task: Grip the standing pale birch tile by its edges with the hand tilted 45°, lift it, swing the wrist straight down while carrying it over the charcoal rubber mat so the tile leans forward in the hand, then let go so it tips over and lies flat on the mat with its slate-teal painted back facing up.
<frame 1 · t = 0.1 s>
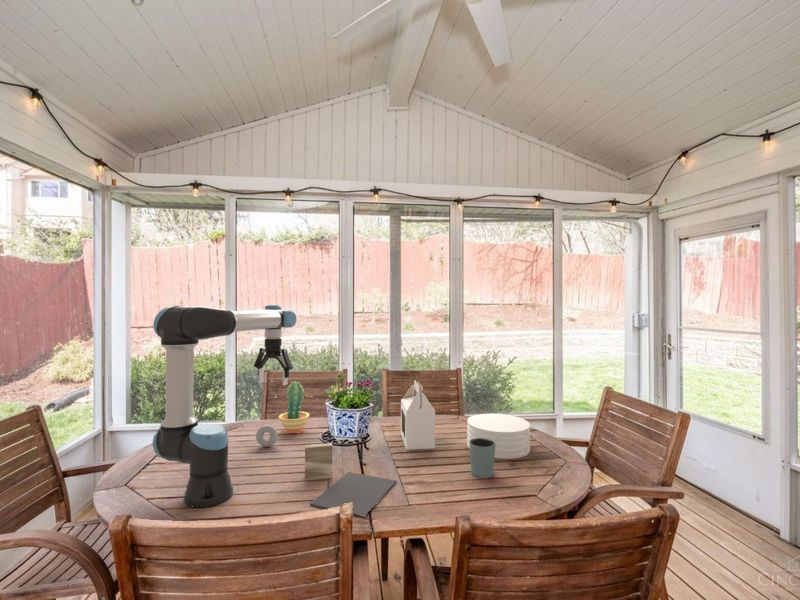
hand: (272, 383, 187), 28 cm above the table, tool pointing down, fingers open, 13 cm apart
donut: (267, 447, 183), on the table
birch tile: (318, 477, 152), on the table
potted cactus: (294, 431, 205), on the table
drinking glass: (482, 473, 156), on the table
plate stack: (498, 447, 184), on the table
rubber mat: (355, 493, 139), on the table
gable box: (417, 441, 191), on the table
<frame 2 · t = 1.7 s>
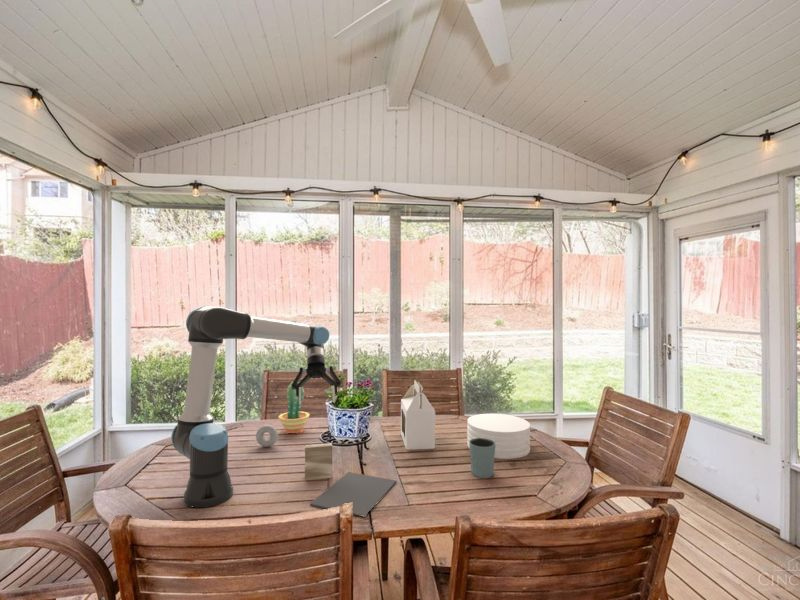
hand: (317, 401, 162), 26 cm above the table, tool tilted 45°, fingers open, 13 cm apart
nothing on the table moved.
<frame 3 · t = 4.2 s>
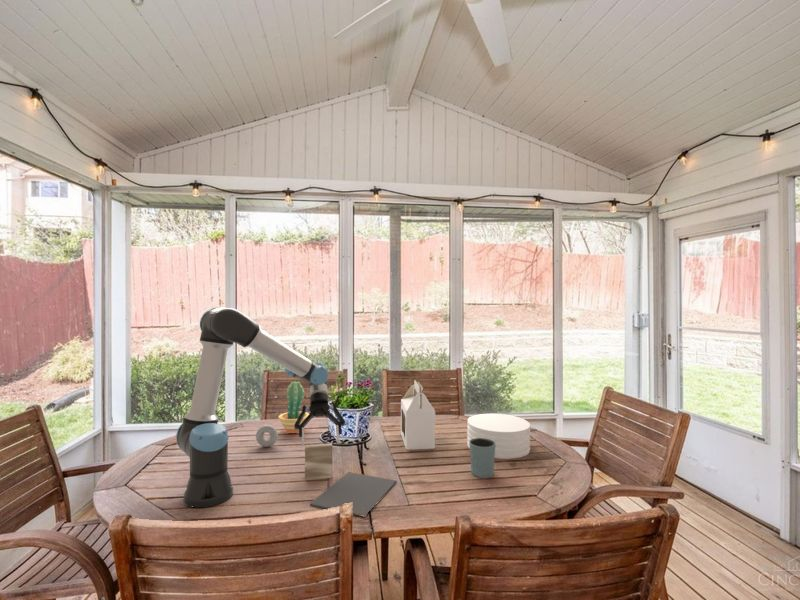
hand: (320, 443, 158), 11 cm above the table, tool tilted 45°, fingers open, 13 cm apart
nothing on the table moved.
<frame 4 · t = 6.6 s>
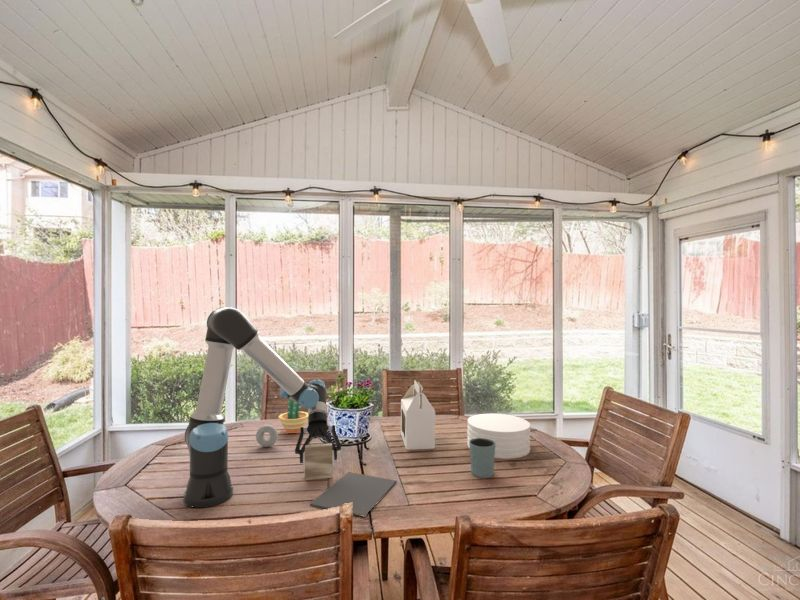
hand: (318, 469, 149), 4 cm above the table, tool tilted 45°, fingers closed on birch tile, 10 cm apart
birch tile: (318, 477, 152), on the table, touching gripper
everything else where it was.
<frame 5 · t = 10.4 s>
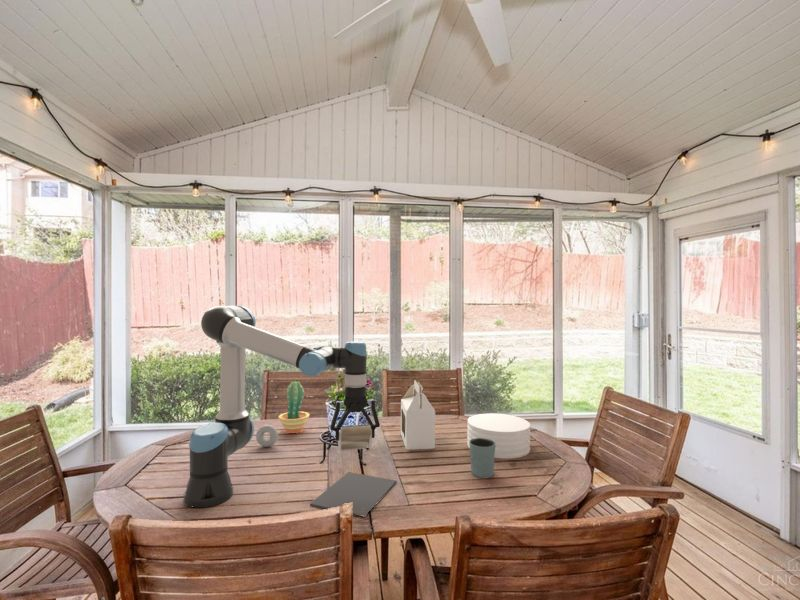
hand: (354, 448, 142), 15 cm above the table, tool pointing down, fingers closed on birch tile, 10 cm apart
birch tile: (352, 445, 147), point 14 cm above the table, tilted 45°, touching gripper
everything else where it was.
when the fingers open (3 cm above the table, at t = 13.3 s): birch tile moves 1 cm and tips over, resting on rubber mat.
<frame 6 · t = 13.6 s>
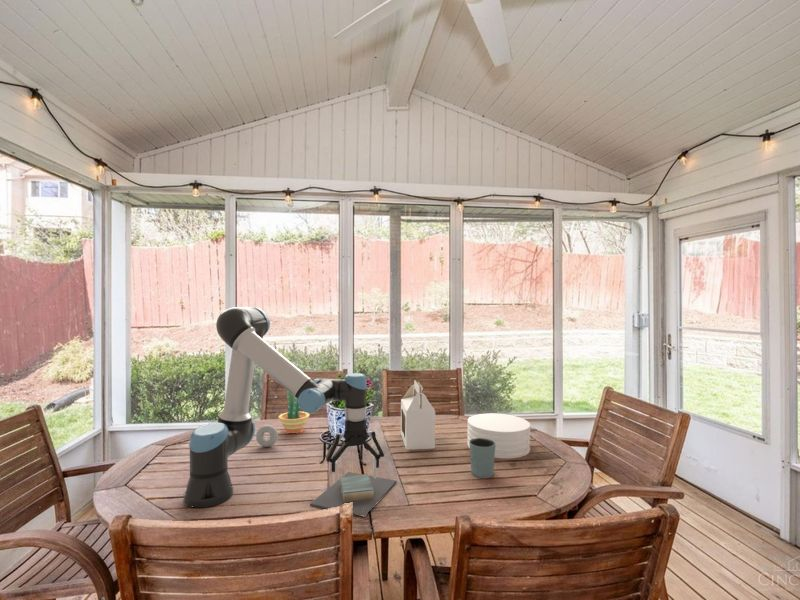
hand: (355, 478, 141), 4 cm above the table, tool pointing down, fingers open, 13 cm apart
birch tile: (354, 479, 145), point 2 cm above the table, tilted 90°, touching rubber mat
everything else where it was.
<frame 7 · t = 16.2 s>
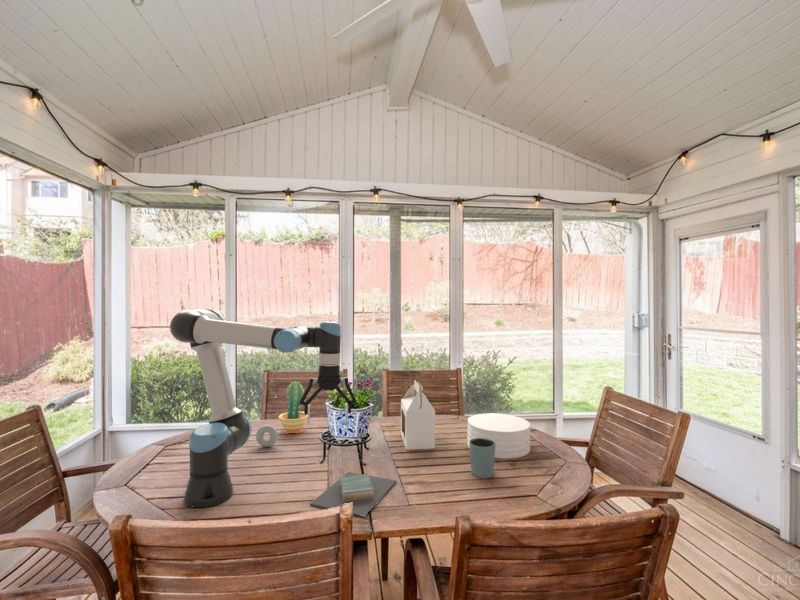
hand: (327, 422, 146), 22 cm above the table, tool pointing down, fingers open, 13 cm apart
nothing on the table moved.
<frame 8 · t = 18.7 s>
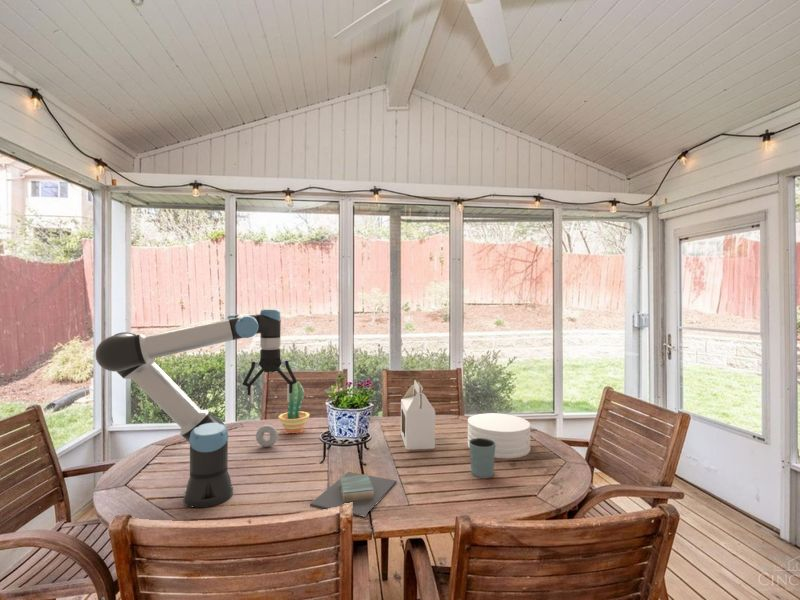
hand: (270, 402, 157), 27 cm above the table, tool pointing down, fingers open, 13 cm apart
nothing on the table moved.
at the end: birch tile tilted 90°; birch tile inside the target area on the rubber mat (5.7 cm from its centre), point 2.1 cm above the rubber mat's base; birch tile touching rubber mat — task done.
